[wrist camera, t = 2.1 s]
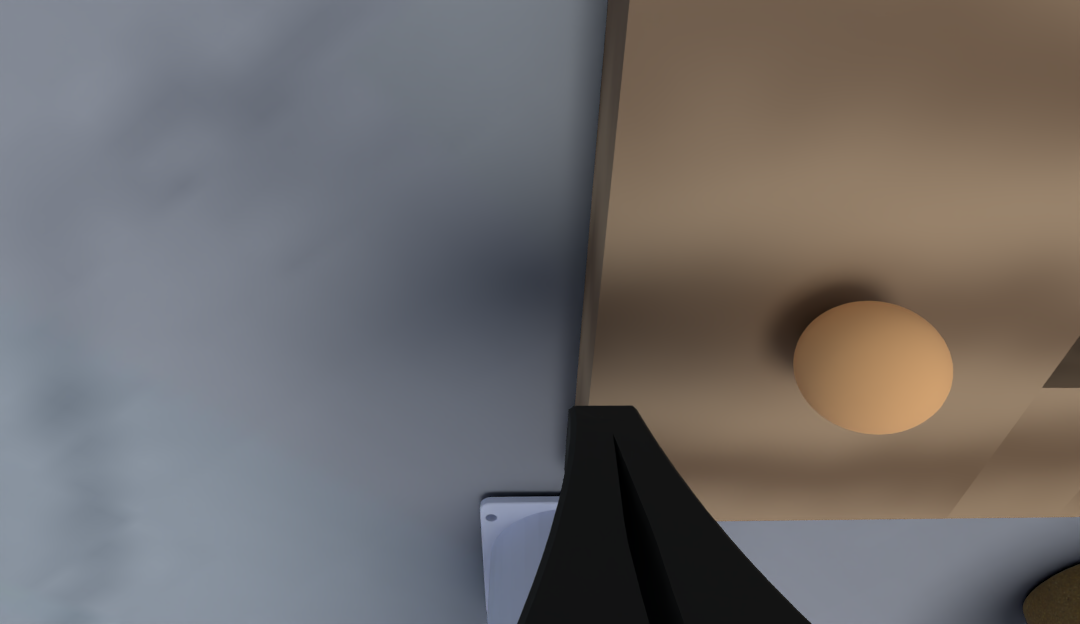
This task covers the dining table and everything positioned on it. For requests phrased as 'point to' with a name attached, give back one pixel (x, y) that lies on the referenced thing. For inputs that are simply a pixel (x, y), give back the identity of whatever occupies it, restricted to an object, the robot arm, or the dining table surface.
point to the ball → (873, 367)
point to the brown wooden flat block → (840, 245)
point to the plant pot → (1055, 599)
